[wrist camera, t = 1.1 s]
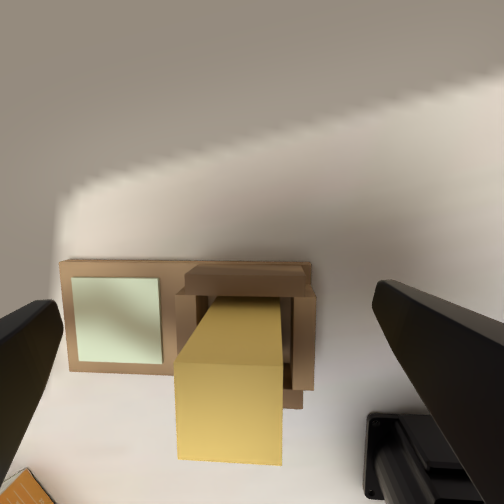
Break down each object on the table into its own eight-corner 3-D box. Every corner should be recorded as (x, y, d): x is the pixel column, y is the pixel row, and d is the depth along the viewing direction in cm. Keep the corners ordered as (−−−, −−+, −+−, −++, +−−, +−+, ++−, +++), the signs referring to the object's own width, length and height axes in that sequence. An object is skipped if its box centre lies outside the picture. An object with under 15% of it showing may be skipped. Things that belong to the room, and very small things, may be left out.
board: (306, 373, 21) (309, 383, 20) (78, 364, 23) (66, 373, 21) (309, 261, 20) (312, 265, 19) (68, 259, 21) (55, 263, 20)
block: (278, 352, 20) (281, 465, 11) (220, 350, 20) (177, 459, 12) (279, 294, 20) (283, 366, 11) (218, 293, 20) (173, 362, 11)
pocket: (307, 380, 20) (313, 409, 17) (192, 375, 21) (179, 403, 18) (310, 265, 19) (317, 276, 16) (189, 264, 20) (173, 273, 17)
